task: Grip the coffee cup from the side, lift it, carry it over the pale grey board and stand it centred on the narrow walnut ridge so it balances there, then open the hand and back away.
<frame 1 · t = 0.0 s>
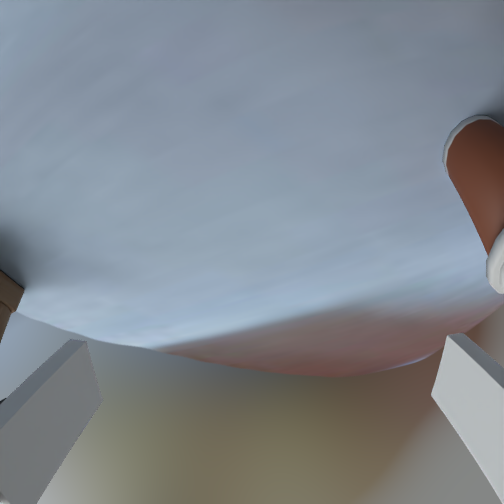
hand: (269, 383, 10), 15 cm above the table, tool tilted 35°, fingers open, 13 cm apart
coffee cup: (474, 149, 19), on the table
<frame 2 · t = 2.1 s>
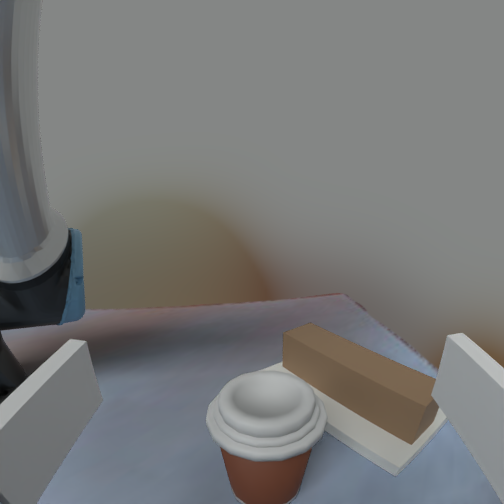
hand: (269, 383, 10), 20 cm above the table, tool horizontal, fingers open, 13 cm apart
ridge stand: (350, 403, 36), on the table
coffee cup: (265, 486, 24), on the table
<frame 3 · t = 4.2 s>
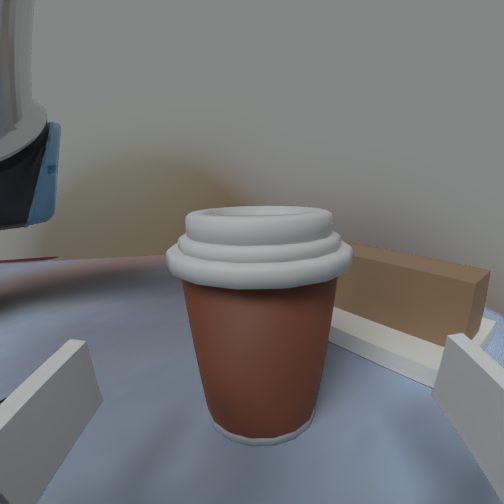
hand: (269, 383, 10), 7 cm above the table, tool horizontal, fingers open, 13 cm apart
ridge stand: (369, 321, 30), on the table
coffee cup: (261, 412, 18), on the table
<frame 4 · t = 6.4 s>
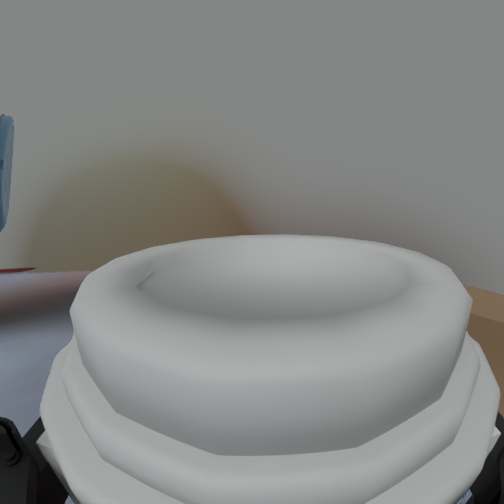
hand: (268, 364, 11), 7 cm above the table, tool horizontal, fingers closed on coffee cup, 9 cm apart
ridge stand: (411, 375, 20), on the table
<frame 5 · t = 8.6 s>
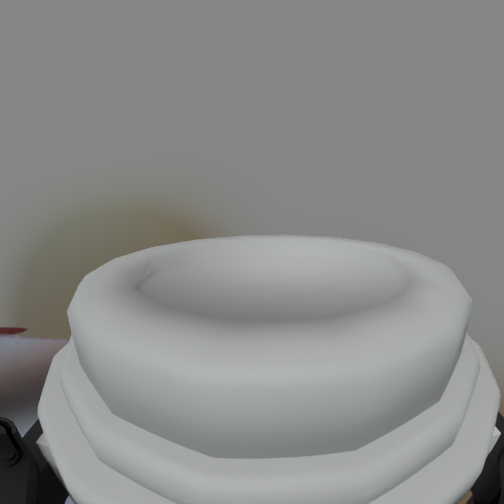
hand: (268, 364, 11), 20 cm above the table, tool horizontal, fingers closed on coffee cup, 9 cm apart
when the fingers open (15 cm above the table, at t = 11.0 s): coffee cup stays where it is, resting on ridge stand.
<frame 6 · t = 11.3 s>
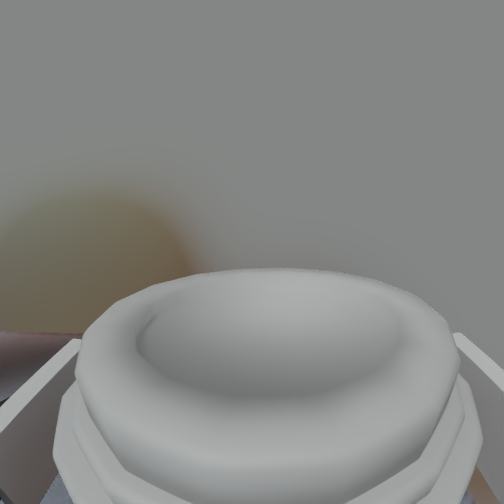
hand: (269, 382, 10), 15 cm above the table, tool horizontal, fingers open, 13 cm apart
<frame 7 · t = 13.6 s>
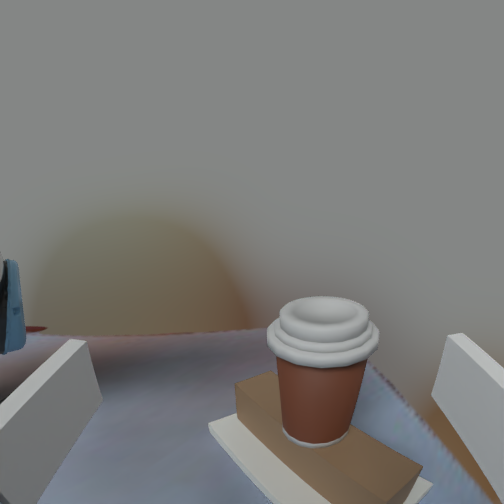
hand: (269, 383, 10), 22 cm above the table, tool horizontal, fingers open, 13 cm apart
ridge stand: (310, 468, 28), on the table
coffee cup: (315, 427, 26), point 7 cm above the table, touching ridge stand
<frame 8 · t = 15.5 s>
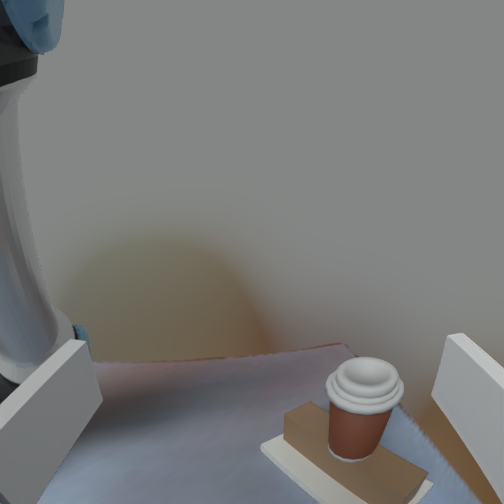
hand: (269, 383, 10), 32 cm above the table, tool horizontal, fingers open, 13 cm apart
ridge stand: (343, 475, 35), on the table
coffee cup: (351, 446, 34), point 7 cm above the table, touching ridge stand
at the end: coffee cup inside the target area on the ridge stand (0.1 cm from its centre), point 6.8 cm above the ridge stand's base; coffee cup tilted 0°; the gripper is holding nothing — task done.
